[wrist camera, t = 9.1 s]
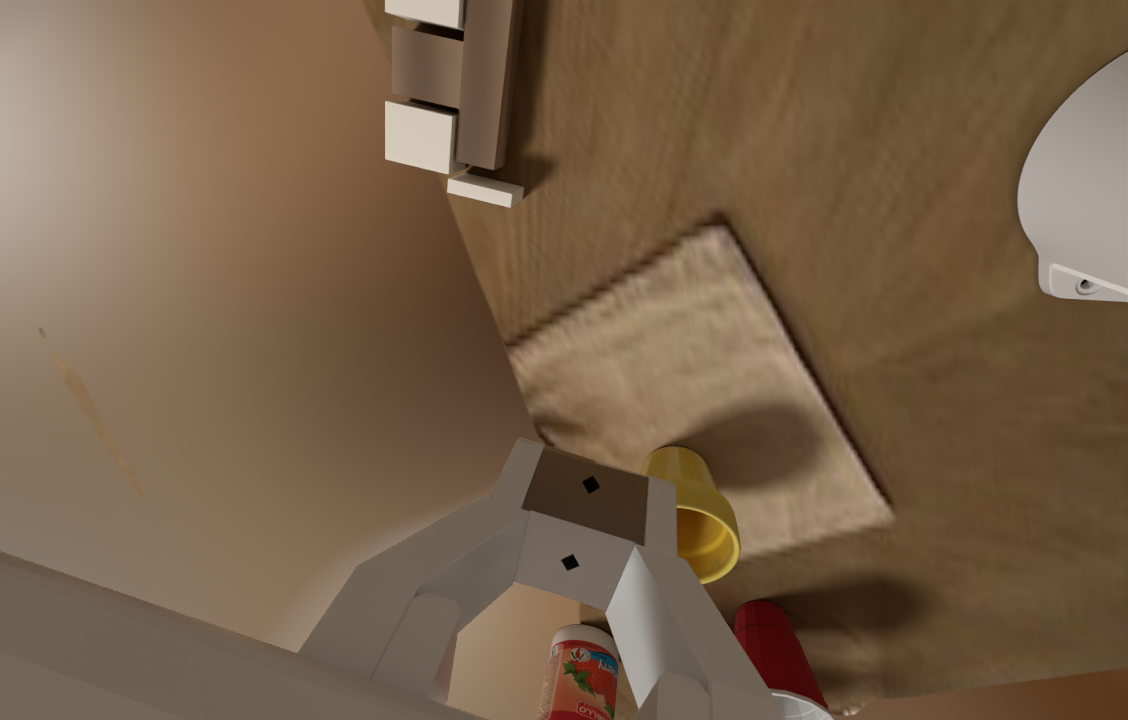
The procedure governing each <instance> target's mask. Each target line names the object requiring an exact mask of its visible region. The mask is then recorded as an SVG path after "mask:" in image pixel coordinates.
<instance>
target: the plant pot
mask: <svg viewBox="0 0 1128 720" xmlns="http://www.w3.org/2000/svg"><path fill="white" fill-rule="evenodd" d="M640 474H643V475H646V476H652V477H655V478H659V479H662V480H666V481H670V482H673V483H674V484H675V486H676V502H677V557H679V558H682V559H685V560H686V561H687V562H688V564H689V565H690V567H691V568H692V570H693V572H694V573H695V575H696V576H697V578H698V579H699V581H700V583H701V584H706V583H709V582H712V581H715V580H717V579H719V578H721V577H722V576H724V575H725V574H727V573H728V572H729V571H730V570H731V569H732V568H733V567H734V566H735V564H736V563H737V561H738V558H739V556H740V550H741V545H740V538H739V532H738V527H737V522H736V518H735V514H734V511H733V509H732V507H731V505H730V504H729V502H728V501H727V500H726V498H725V497H724V496H723V495H722V494H720V493H719V491H718V489H717V486H716V484H715V482H714V480H713V477H712V475H711V473H710V471H709V469H708V466H707V464H706V463H705V461H704V460H703V458H702V457H701V456H700V455H698V454H697V453H695V452H694V451H692V450H690V449H687V448H684V447H678V446H669V447H663V448H660V449H658V450H656V451H654V452H652V453H651V454H650V455H649V456H648V457H647V458H646V459H645V461H644V463H643V466H642V469H641V471H640Z"/></svg>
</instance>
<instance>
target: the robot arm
mask: <svg viewBox="0 0 1128 720" xmlns="http://www.w3.org/2000/svg"><path fill="white" fill-rule="evenodd" d="M1018 211H1019V217H1020V221H1021V224H1022V226H1023V229H1024V231H1025V233H1026V235H1027V236H1028V238H1029V239H1030V241H1031V242H1032V244H1033V246H1034V247H1035V249H1036V251H1037V253H1038V256H1039V272H1038V275H1039V285H1040V288H1041V289H1042V291H1043V292H1045V293H1046V294H1049V295H1052V296H1056V297H1059V298H1067V299H1085V300H1103V301H1120V302H1128V52H1126V53H1124V54H1123V55H1121V56H1120V57H1118V58H1116V59H1115V60H1113V61H1112V62H1111V63H1109V64H1108V65H1106V66H1105V67H1103V68H1102V69H1101V70H1099V71H1098V72H1097V73H1095V74H1094V75H1093V76H1092V77H1091V78H1089V79H1088V80H1087V81H1086V82H1085V83H1084V84H1082V85H1081V86H1080V87H1079V88H1078V89H1077V90H1076V91H1075V92H1074V93H1073V94H1072V95H1071V96H1070V97H1069V98H1068V99H1067V100H1066V101H1065V102H1064V103H1063V104H1062V105H1061V106H1060V108H1059V109H1058V110H1057V111H1056V112H1055V113H1054V115H1053V116H1052V117H1051V119H1050V120H1049V121H1048V123H1047V124H1046V125H1045V127H1044V128H1043V130H1042V131H1041V133H1040V134H1039V136H1038V138H1037V139H1036V141H1035V143H1034V145H1033V147H1032V148H1031V150H1030V153H1029V155H1028V157H1027V159H1026V162H1025V165H1024V167H1023V170H1022V174H1021V178H1020V182H1019V188H1018ZM1084 279H1085V280H1087V281H1086V282H1085V283H1084V284H1082V285H1080V284H1081V282H1082V281H1083V280H1084ZM513 581H514V582H517V583H521V584H524V585H528V586H531V587H535V588H538V589H541V590H545V591H548V592H552V593H555V594H559V595H562V596H564V597H567V598H570V599H573V600H576V601H579V602H581V603H584V604H587V605H590V606H593V607H596V608H598V609H601V610H604V611H606V613H605V614H606V617H607V620H608V622H609V625H610V628H611V631H612V634H613V637H614V640H615V642H616V645H617V648H618V651H619V654H620V657H621V659H622V662H623V665H624V668H625V671H626V674H627V676H628V679H629V682H630V685H631V688H632V691H633V694H634V696H635V699H636V702H637V705H638V708H639V711H638V712H637V714H636V715H635V717H634V719H633V720H782V719H781V714H780V708H779V704H778V703H777V701H776V700H775V698H774V696H773V695H772V693H771V692H770V690H769V689H768V687H767V685H766V684H765V682H764V681H763V679H762V678H761V676H760V675H759V673H758V671H757V670H756V668H755V667H754V665H753V664H752V662H751V661H750V659H749V657H748V656H747V654H746V653H745V651H744V650H743V648H742V646H741V645H740V643H739V642H738V640H737V639H736V637H735V636H734V634H733V632H732V631H731V629H730V628H729V626H728V625H727V623H726V622H725V620H724V618H723V617H722V615H721V614H720V612H719V611H718V609H717V607H716V606H715V604H714V603H713V601H712V600H711V598H710V597H709V595H708V593H707V592H706V590H705V589H704V587H703V586H702V584H701V583H700V581H699V579H698V578H697V576H696V575H695V573H694V572H693V570H692V568H691V567H690V565H689V564H688V562H687V561H686V560H685V559H682V558H679V557H677V502H676V486H675V484H674V483H673V482H670V481H666V480H662V479H659V478H655V477H652V476H646V475H643V474H639V473H636V472H632V471H629V470H625V469H622V468H618V467H615V466H611V465H608V464H605V463H601V462H598V461H594V460H591V459H588V458H585V457H582V456H579V455H576V454H572V453H569V452H566V451H563V450H560V449H557V448H554V447H551V446H548V445H546V446H545V445H543V444H540V443H537V442H533V441H530V440H527V439H524V438H521V437H520V438H519V439H518V440H517V441H516V443H515V445H514V447H513V449H512V452H511V454H510V456H509V458H508V460H507V462H506V464H505V467H504V469H503V471H502V473H501V475H500V477H499V479H498V482H497V484H496V486H495V488H494V490H493V492H492V495H491V497H490V499H488V498H485V497H480V498H478V499H476V500H474V501H473V502H471V503H469V504H467V505H466V506H464V507H462V508H460V509H458V510H457V511H455V512H453V513H451V514H449V515H448V516H446V517H444V518H442V519H440V520H439V521H437V522H435V523H433V524H431V525H430V526H428V527H426V528H424V529H422V530H421V531H419V532H417V533H415V534H414V535H412V536H410V537H408V538H407V539H405V540H403V541H401V542H399V543H397V544H396V545H394V546H392V547H390V548H389V549H387V550H385V551H383V552H381V553H380V554H378V555H376V556H374V557H372V558H370V559H369V560H367V561H365V562H363V563H362V564H360V565H358V566H357V567H356V569H355V570H354V571H353V573H352V574H351V576H350V577H349V579H348V580H347V582H346V583H345V585H344V586H343V587H342V589H341V590H340V592H339V593H338V595H337V596H336V598H335V599H334V601H333V602H332V604H331V605H330V606H329V608H328V609H327V611H326V612H325V614H324V615H323V617H322V618H321V619H320V621H319V622H318V624H317V625H316V627H315V628H314V630H313V631H312V632H311V634H310V636H309V637H308V638H307V640H306V641H305V643H304V644H303V646H302V647H301V649H300V650H299V652H298V653H295V652H292V651H289V650H286V649H283V648H280V647H277V646H275V645H272V644H269V643H265V642H263V641H260V640H257V639H254V638H251V637H248V636H245V635H242V634H240V633H236V632H234V631H231V630H228V629H225V628H222V627H219V626H217V625H214V624H211V623H208V622H205V621H202V620H199V619H196V618H194V617H190V616H188V615H185V614H182V613H179V612H176V611H173V610H170V609H167V608H164V607H162V606H159V605H156V604H153V603H150V602H147V601H144V600H141V599H138V598H135V597H133V596H130V595H127V594H124V593H121V592H118V591H115V590H112V589H110V588H107V587H104V586H101V585H98V584H95V583H92V582H89V581H86V580H84V579H81V578H78V577H75V576H72V575H69V574H66V573H63V572H60V571H58V570H55V569H52V568H49V567H46V566H43V565H40V564H37V563H34V562H31V561H28V560H26V559H22V558H20V557H17V556H14V555H11V554H8V553H5V552H2V551H0V720H489V719H486V718H483V717H480V716H477V715H474V714H471V713H468V712H465V711H462V710H460V709H456V708H454V707H450V706H448V705H445V704H446V702H447V699H448V693H449V687H450V680H451V673H452V667H453V660H454V654H455V647H456V641H457V634H458V632H460V631H461V630H462V629H463V628H464V627H465V626H466V625H467V624H469V623H470V622H471V621H472V620H473V619H474V618H475V617H477V616H478V615H479V614H480V613H481V612H482V611H483V610H484V609H486V608H487V607H488V606H489V605H490V604H491V603H492V602H493V601H495V600H496V599H497V598H498V597H499V596H500V595H501V594H502V593H504V592H505V591H506V590H507V589H508V588H509V587H510V586H511V585H512V584H513Z"/></svg>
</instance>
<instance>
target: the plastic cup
mask: <svg viewBox="0 0 1128 720" xmlns="http://www.w3.org/2000/svg"><path fill="white" fill-rule="evenodd" d="M734 636H735V637H736V639H737V640H738V642H739V643H740V645H741V646H742V648H743V650H744V651H745V653H746V654H747V656H748V657H749V659H750V661H751V662H752V664H753V665H754V667H755V668H756V670H757V671H758V673H759V675H760V676H761V678H762V679H763V681H764V682H765V684H766V685H767V687H768V689H769V690H770V692H771V693H772V695H773V696H774V698H775V700H776V701H777V703H778V704H779V708H780V714H781V719H782V720H835V719H834V717H833V716H832V715H831V713H830V711H829V709H828V706H827V704H826V703H825V701H824V698H823V696H822V693H821V691H820V690H819V688H818V685H817V683H816V681H815V678H814V676H813V674H812V671H811V669H810V666H809V664H808V662H807V659H806V657H805V654H804V652H803V650H802V647H801V645H800V642H799V640H798V639H797V638H796V635H795V633H794V630H793V628H792V626H791V623H790V621H789V618H788V617H787V616H786V614H785V612H784V611H783V610H782V608H781V607H779V606H777V605H776V604H774V603H771V602H766V601H751V602H748V603H744V604H743V605H742V606H740V607H739V608H738V610H737V612H736V617H735V632H734Z"/></svg>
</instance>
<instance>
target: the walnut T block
mask: <svg viewBox="0 0 1128 720" xmlns="http://www.w3.org/2000/svg"><path fill="white" fill-rule="evenodd" d="M524 3H525V0H466V14H465V28H464V42H463V41H458V40H454V39H449V38H445V37H440V36H436V35H431V34H427V33H422V32H418V31H413V30H409V29H404V28H400V27H395V26H392V93H393V94H397V95H401V96H406V97H410V98H414V99H419V100H423V101H427V102H432V103H436V104H440V105H445V106H449V107H453V108H458V109H459V115H458V130H457V144H456V159H455V161H457V162H461V163H466V164H470V165H474V166H478V167H482V168H487V169H491V170H496V169H498V168H500V167H503V166H505V161H506V153H507V145H508V136H509V128H510V120H511V111H512V103H513V95H514V86H515V78H516V70H517V61H518V53H519V45H520V36H521V28H522V20H523V11H524Z"/></svg>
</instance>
